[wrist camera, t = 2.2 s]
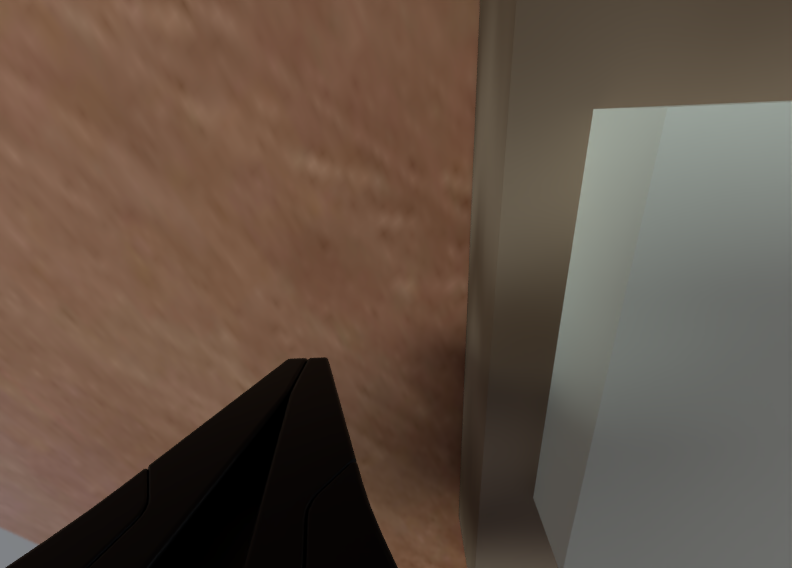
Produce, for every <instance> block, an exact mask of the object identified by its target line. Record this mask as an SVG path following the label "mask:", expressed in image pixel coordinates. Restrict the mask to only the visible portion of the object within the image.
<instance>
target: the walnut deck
mask: <svg viewBox="0 0 792 568" xmlns="http://www.w3.org/2000/svg"><path fill="white" fill-rule="evenodd" d="M771 101H792V0H480V15H479V39H478V63H477V87H476V112H475V136H474V160H473V184H472V209H471V233H470V257H469V281H468V306H467V330H466V354H465V378H464V403H463V427H462V451H461V475H460V500H459V520H460V526H461V532H462V538H463V545H464V551H465V557H466V563H467V568H558V565H557V562H556V559H555V557H554V554H553V551H552V548H551V546H550V543H549V540H548V537H547V535H546V532H545V529H544V526H543V524H542V521H541V518H540V515H539V512H538V510H537V507H536V504H535V501H534V499H533V496H534V489H535V483H536V477H537V470H538V464H539V457H540V451H541V444H542V438H543V431H544V425H545V419H546V412H547V406H548V399H549V393H550V386H551V380H552V373H553V367H554V361H555V354H556V348H557V341H558V335H559V328H560V322H561V316H562V309H563V303H564V296H565V290H566V283H567V277H568V270H569V264H570V258H571V251H572V245H573V238H574V232H575V225H576V219H577V212H578V206H579V200H580V193H581V187H582V180H583V174H584V167H585V161H586V154H587V148H588V142H589V135H590V129H591V122H592V116H593V109H607V108H631V107H654V106H677V105H701V104H724V103H747V102H771Z"/></svg>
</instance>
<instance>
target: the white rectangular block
mask: <svg viewBox="0 0 792 568" xmlns="http://www.w3.org/2000/svg"><path fill="white" fill-rule="evenodd" d="M533 499H534V501H535V504H536V507H537V510H538V512H539V515H540V518H541V521H542V524H543V526H544V529H545V532H546V535H547V537H548V540H549V543H550V546H551V548H552V551H553V554H554V557H555V559H556V562H557V565H558V568H792V101H771V102H747V103H724V104H701V105H677V106H654V107H631V108H607V109H593V116H592V122H591V129H590V135H589V142H588V148H587V154H586V161H585V167H584V174H583V180H582V187H581V193H580V200H579V206H578V212H577V219H576V225H575V232H574V238H573V245H572V251H571V258H570V264H569V270H568V277H567V283H566V290H565V296H564V303H563V309H562V316H561V322H560V328H559V335H558V341H557V348H556V354H555V361H554V367H553V373H552V380H551V386H550V393H549V399H548V406H547V412H546V419H545V425H544V431H543V438H542V444H541V451H540V457H539V464H538V470H537V477H536V483H535V489H534V496H533Z"/></svg>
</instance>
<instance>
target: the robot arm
mask: <svg viewBox="0 0 792 568" xmlns="http://www.w3.org/2000/svg"><path fill="white" fill-rule="evenodd" d="M6 568H398V567H397V565H396V563H395V561H394V559H393V557H392V554H391V552H390V550H389V548H388V546H387V544H386V542H385V539H384V537H383V535H382V533H381V530H380V528H379V526H378V523H377V521H376V518H375V516H374V514H373V511H372V509H371V507H370V504H369V501H368V498H367V495H366V491H365V488H364V485H363V482H362V479H361V475H360V472H359V468H358V465H357V463H356V458H355V454H354V451H353V447H352V444H351V440H350V436H349V433H348V429H347V426H346V422H345V418H344V415H343V411H342V408H341V404H340V400H339V397H338V393H337V389H336V386H335V382H334V379H333V375H332V371H331V368H330V364H329V361H328V359H327V358H325V357H324V358H310V359H308V360H307V359H306V358H297V359H288V360H286V361H285V362H284V363H282V364H281V365H280V366H278V367H277V368H276V369H274V370H273V371H272V372H271V373H269V374H268V375H267V376H265V377H264V378H263V379H261V380H260V381H259V382H257V383H256V384H255V385H254V386H252V387H251V388H250V389H248V390H247V391H246V392H244V393H243V394H242V395H240V396H239V397H238V398H237V399H235V400H234V401H233V402H231V403H230V404H229V405H227V406H226V407H225V408H223V409H222V410H221V411H220V412H218V413H217V414H216V415H214V416H213V417H212V418H210V419H209V420H208V421H206V422H205V423H204V424H203V425H201V426H200V427H199V428H197V429H196V430H195V431H193V432H192V433H191V434H189V435H188V436H187V437H186V438H184V439H183V440H182V441H180V442H179V443H178V444H176V445H175V446H174V447H172V448H171V449H170V450H169V451H167V452H166V453H165V454H163V455H162V456H161V457H159V458H158V459H157V460H155V461H154V462H153V463H151V464H150V465H149V467H148V469H143V470H142V471H141V472H140V473H138V474H137V475H136V476H134V477H133V478H132V479H130V480H129V481H128V482H126V483H125V484H124V485H122V486H121V487H120V488H118V489H117V490H116V491H114V492H113V493H112V494H110V495H109V496H108V497H106V498H105V499H104V500H102V501H101V502H99V503H98V504H97V505H95V506H94V507H93V508H91V509H90V510H89V511H87V512H86V513H84V514H83V515H82V516H80V517H79V518H77V519H76V520H74V521H73V522H71V523H70V524H69V525H67V526H66V527H64V528H63V529H61V530H60V531H59V532H57V533H56V534H54V535H53V536H51V537H50V538H48V539H47V540H46V541H44V542H43V543H41V544H40V545H38V546H37V547H35V548H34V549H32V550H31V551H29V552H28V553H26V554H25V555H24V556H22V557H20V558H19V559H18V560H16V561H15V562H13V563H12V564H10V565H9V566H7V567H6Z"/></svg>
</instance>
